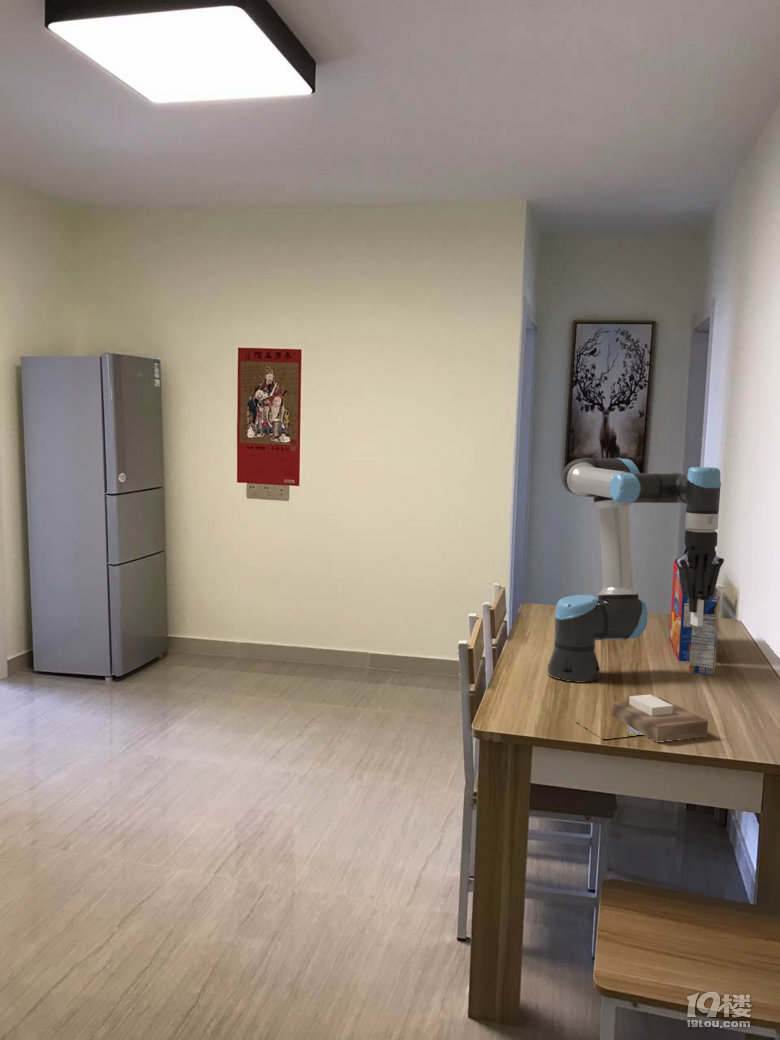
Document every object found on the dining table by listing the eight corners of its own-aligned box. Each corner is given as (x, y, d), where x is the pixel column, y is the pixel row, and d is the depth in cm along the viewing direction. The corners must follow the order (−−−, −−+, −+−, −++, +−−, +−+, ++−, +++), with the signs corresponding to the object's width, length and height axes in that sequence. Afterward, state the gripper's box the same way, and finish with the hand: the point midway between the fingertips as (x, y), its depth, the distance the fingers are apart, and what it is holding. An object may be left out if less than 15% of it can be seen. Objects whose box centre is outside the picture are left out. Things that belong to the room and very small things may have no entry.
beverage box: (688, 672, 250) (692, 600, 248) (691, 663, 260) (695, 594, 258) (713, 675, 247) (717, 603, 245) (715, 666, 257) (719, 596, 255)
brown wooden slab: (612, 717, 209) (613, 702, 208) (659, 712, 213) (660, 697, 213) (657, 743, 192) (658, 726, 191) (706, 737, 196) (707, 720, 196)
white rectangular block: (629, 704, 207) (629, 696, 207) (649, 702, 209) (649, 694, 208) (651, 716, 198) (652, 707, 198) (672, 713, 200) (673, 705, 200)
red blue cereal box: (669, 639, 290) (673, 561, 287) (693, 641, 288) (698, 562, 285) (678, 661, 263) (683, 574, 260) (705, 663, 261) (710, 575, 258)
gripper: (689, 532, 197) (684, 630, 199) (733, 531, 201) (728, 626, 204) (669, 529, 204) (664, 623, 206) (712, 528, 208) (707, 620, 211)
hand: (696, 625), depth 205 cm, fingers closed
